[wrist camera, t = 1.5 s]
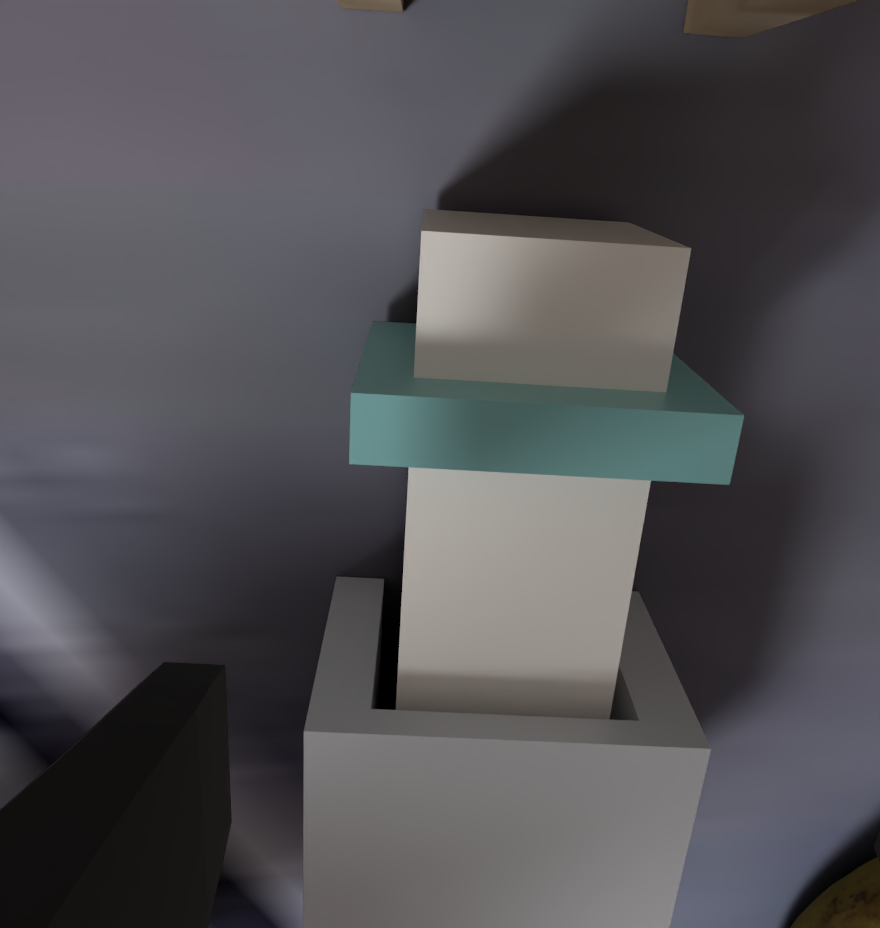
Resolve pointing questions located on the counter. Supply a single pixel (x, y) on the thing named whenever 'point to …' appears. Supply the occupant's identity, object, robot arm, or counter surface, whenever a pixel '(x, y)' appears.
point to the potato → (847, 902)
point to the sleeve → (493, 796)
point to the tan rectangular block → (699, 13)
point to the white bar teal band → (531, 452)
